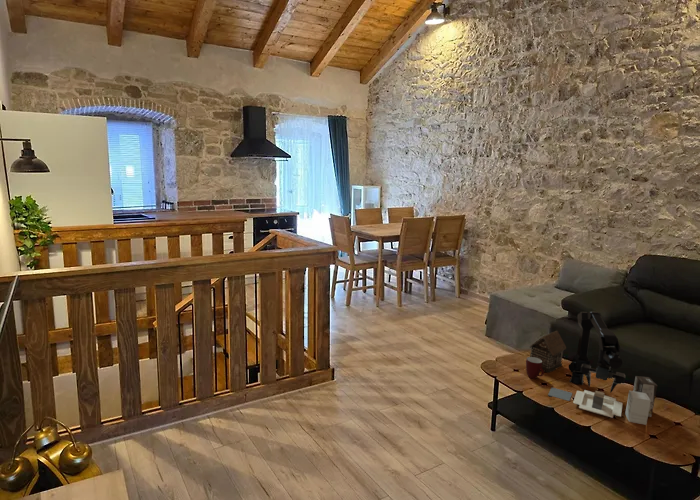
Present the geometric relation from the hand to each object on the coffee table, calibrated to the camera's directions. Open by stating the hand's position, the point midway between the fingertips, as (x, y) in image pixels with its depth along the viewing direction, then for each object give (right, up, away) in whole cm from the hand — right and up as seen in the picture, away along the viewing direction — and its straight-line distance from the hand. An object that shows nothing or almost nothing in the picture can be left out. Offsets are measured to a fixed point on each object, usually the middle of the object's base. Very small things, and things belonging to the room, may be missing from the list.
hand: (599, 389), depth 224 cm
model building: (-7, 0, +47) cm, 47 cm away
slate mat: (-14, -6, +12) cm, 19 cm away
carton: (0, -9, +2) cm, 9 cm away
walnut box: (0, -9, +2) cm, 9 cm away
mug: (-20, -3, +30) cm, 36 cm away
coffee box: (+20, -11, 0) cm, 22 cm away
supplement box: (+12, -12, -8) cm, 19 cm away
